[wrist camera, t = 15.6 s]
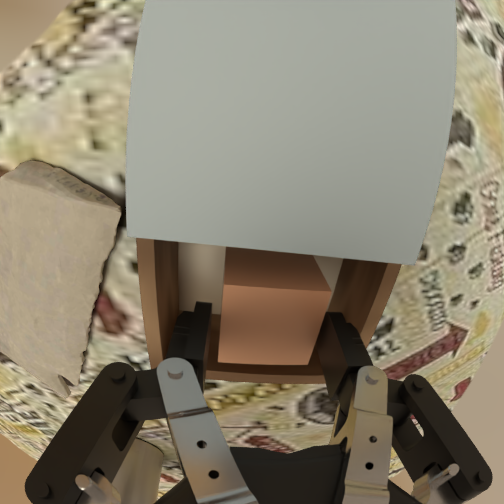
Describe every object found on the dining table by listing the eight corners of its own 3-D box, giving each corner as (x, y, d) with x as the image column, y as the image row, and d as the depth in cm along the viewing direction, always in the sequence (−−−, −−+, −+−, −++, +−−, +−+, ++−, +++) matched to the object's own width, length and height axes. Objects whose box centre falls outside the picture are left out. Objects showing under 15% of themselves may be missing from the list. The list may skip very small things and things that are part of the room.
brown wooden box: (328, 323, 21) (349, 382, 16) (170, 310, 21) (151, 371, 15) (381, 106, 14) (439, 106, 9) (179, 74, 14) (145, 53, 8)
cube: (293, 312, 18) (307, 364, 14) (220, 307, 17) (217, 362, 13) (308, 246, 16) (332, 291, 12) (226, 239, 15) (223, 284, 11)
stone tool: (82, 387, 27) (142, 205, 17) (70, 411, 23) (117, 229, 14) (0, 330, 24) (12, 130, 14) (-16, 350, 20) (-23, 139, 11)
